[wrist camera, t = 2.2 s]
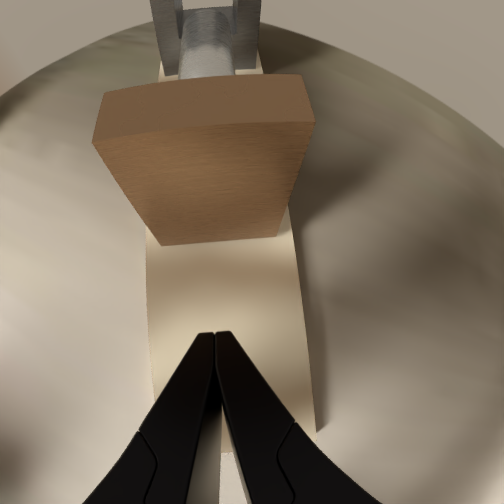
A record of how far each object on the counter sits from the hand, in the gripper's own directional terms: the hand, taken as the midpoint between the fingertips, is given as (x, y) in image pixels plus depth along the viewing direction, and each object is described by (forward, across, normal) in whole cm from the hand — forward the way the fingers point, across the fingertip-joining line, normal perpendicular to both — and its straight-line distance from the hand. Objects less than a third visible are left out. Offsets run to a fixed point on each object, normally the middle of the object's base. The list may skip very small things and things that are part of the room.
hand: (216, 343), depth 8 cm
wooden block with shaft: (+13, 0, -3) cm, 13 cm away
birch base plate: (+13, 0, -1) cm, 13 cm away
